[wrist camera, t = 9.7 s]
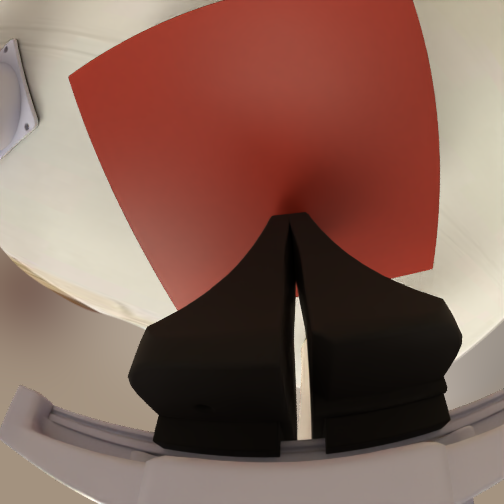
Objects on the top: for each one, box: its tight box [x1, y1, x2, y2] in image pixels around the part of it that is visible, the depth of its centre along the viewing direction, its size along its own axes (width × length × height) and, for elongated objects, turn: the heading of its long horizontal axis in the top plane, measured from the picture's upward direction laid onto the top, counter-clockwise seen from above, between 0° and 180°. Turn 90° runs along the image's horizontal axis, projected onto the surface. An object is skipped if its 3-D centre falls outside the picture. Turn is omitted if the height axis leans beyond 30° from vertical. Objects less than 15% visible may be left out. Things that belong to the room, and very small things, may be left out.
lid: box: [68, 0, 440, 310], centre depth 10 cm, size 12×13×1 cm
